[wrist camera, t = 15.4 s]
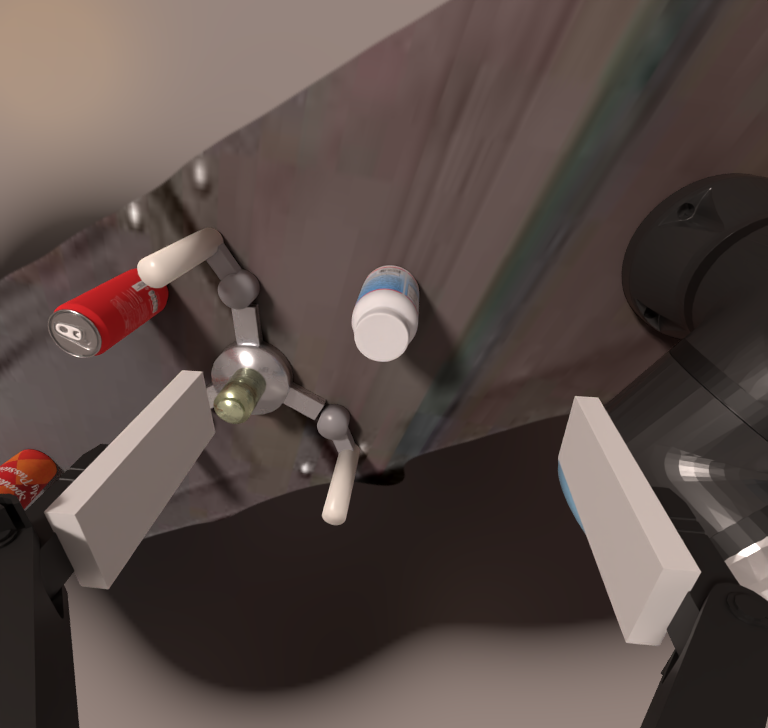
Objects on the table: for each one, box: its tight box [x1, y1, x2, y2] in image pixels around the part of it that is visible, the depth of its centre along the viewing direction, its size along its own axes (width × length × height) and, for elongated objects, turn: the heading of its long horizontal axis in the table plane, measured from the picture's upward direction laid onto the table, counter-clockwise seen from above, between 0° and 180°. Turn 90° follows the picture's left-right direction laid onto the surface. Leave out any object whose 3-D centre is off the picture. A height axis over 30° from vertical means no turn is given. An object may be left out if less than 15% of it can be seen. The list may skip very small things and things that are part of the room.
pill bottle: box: [352, 266, 419, 362], centre depth 42 cm, size 6×6×11 cm
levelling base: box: [206, 303, 326, 424], centre depth 49 cm, size 17×14×8 cm
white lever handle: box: [137, 227, 260, 309], centre depth 42 cm, size 9×4×11 cm, turn 29°
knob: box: [317, 404, 360, 525], centre depth 52 cm, size 9×4×11 cm, turn 17°
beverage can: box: [48, 269, 169, 358], centre depth 44 cm, size 5×5×12 cm
